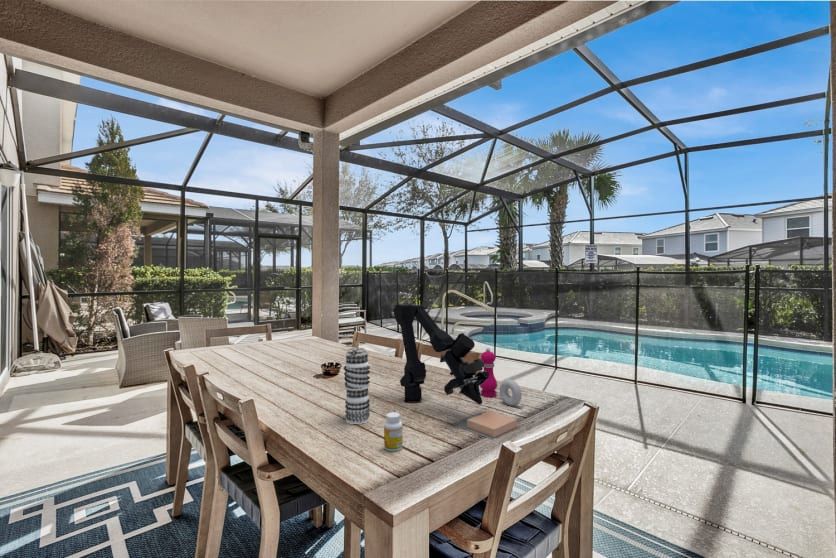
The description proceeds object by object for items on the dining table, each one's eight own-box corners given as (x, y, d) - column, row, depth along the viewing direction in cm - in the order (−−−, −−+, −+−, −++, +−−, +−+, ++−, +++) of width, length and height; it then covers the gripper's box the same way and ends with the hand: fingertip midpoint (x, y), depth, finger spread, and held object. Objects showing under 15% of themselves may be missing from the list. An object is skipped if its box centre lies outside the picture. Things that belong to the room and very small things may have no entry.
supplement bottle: (384, 444, 114) (383, 411, 114) (402, 443, 114) (401, 411, 114) (384, 452, 109) (383, 418, 109) (403, 451, 109) (402, 417, 109)
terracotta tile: (466, 419, 125) (494, 429, 116) (489, 410, 132) (516, 419, 124) (467, 427, 125) (494, 437, 116) (490, 418, 132) (516, 427, 124)
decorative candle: (349, 427, 127) (348, 352, 127) (341, 418, 135) (340, 348, 135) (374, 421, 131) (373, 349, 131) (365, 413, 140) (364, 345, 140)
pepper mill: (497, 398, 155) (496, 349, 155) (479, 397, 157) (478, 349, 157) (497, 393, 162) (496, 346, 162) (480, 392, 164) (479, 345, 164)
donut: (523, 408, 143) (523, 381, 143) (517, 410, 141) (517, 383, 141) (503, 401, 152) (503, 376, 152) (497, 402, 150) (497, 377, 150)
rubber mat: (451, 425, 128) (451, 423, 128) (480, 414, 138) (480, 413, 138) (492, 441, 115) (492, 439, 115) (520, 427, 125) (520, 426, 125)
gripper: (450, 355, 125) (475, 397, 117) (486, 348, 138) (511, 385, 129) (433, 374, 131) (457, 415, 123) (469, 366, 144) (493, 402, 135)
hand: (481, 403), depth 128 cm, fingers closed
